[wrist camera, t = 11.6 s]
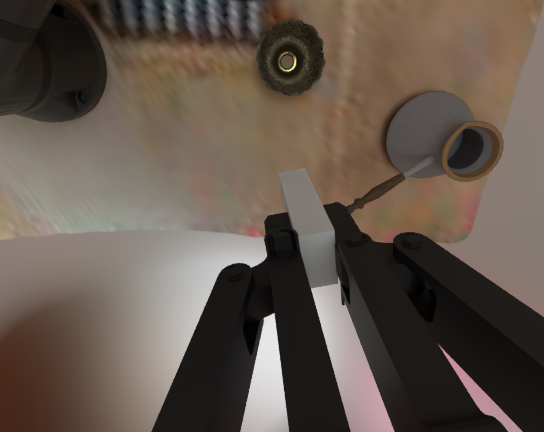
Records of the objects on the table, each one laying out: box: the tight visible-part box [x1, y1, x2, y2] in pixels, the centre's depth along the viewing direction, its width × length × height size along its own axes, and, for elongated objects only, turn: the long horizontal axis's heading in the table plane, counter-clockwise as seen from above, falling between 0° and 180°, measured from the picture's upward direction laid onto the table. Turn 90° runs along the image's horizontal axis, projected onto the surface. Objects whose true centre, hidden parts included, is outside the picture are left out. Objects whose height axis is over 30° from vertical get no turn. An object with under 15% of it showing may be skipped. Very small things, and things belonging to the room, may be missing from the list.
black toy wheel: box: [256, 19, 326, 95], centre depth 38 cm, size 8×7×8 cm
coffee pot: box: [334, 91, 503, 214], centre depth 39 cm, size 21×12×15 cm, turn 114°
